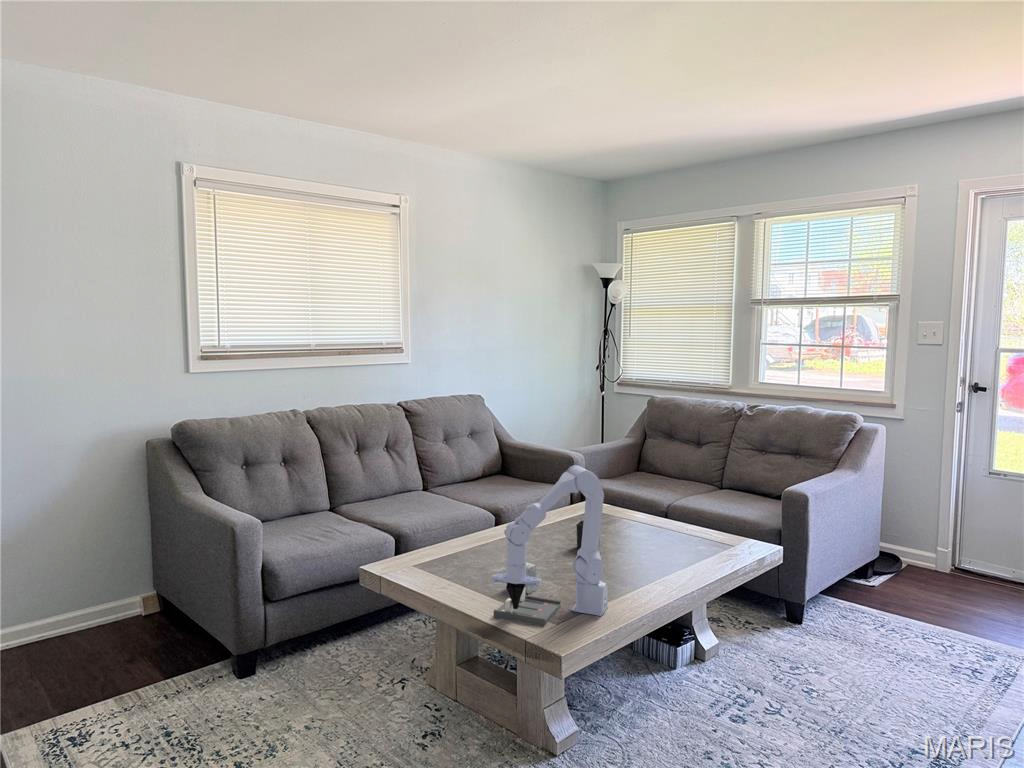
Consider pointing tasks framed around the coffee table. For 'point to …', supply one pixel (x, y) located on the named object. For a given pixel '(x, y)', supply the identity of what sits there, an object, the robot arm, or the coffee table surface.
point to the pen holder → (580, 534)
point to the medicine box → (532, 573)
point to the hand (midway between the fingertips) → (515, 607)
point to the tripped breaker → (508, 605)
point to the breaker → (523, 596)
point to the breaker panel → (531, 610)
